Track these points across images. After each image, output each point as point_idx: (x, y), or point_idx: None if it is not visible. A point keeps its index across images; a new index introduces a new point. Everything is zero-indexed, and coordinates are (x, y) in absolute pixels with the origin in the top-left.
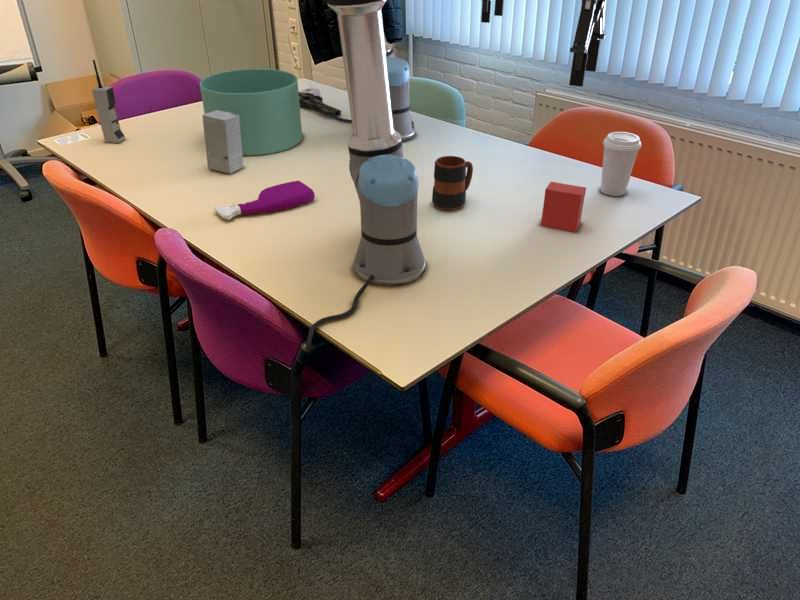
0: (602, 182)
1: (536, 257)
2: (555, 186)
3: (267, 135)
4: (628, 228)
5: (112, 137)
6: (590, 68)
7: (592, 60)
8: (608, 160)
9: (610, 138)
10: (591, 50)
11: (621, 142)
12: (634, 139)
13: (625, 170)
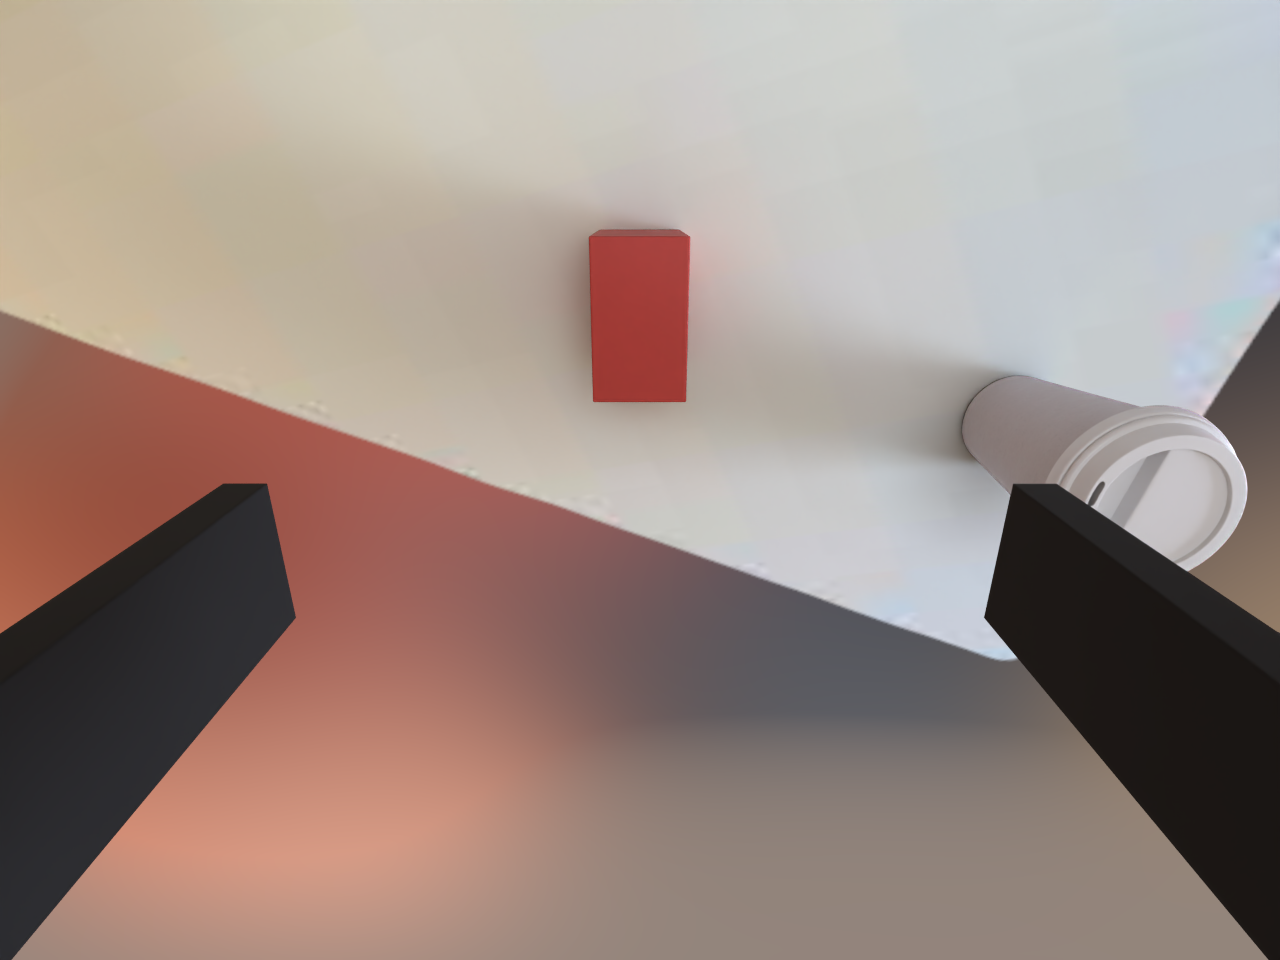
0: (1008, 391)
1: (352, 282)
2: (639, 273)
3: None
4: (706, 515)
5: None
6: (1010, 582)
7: (1064, 649)
8: (1041, 433)
9: (1120, 458)
10: (1173, 712)
11: None
12: None
13: None
